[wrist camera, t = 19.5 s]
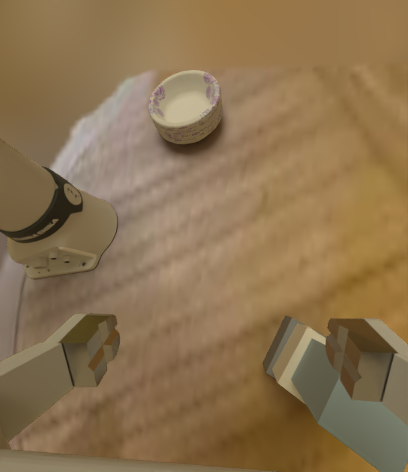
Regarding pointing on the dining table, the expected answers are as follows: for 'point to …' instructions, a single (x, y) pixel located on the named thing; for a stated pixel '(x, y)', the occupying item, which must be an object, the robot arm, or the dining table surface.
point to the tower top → (294, 356)
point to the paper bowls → (186, 106)
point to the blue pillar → (350, 413)
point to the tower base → (280, 343)
